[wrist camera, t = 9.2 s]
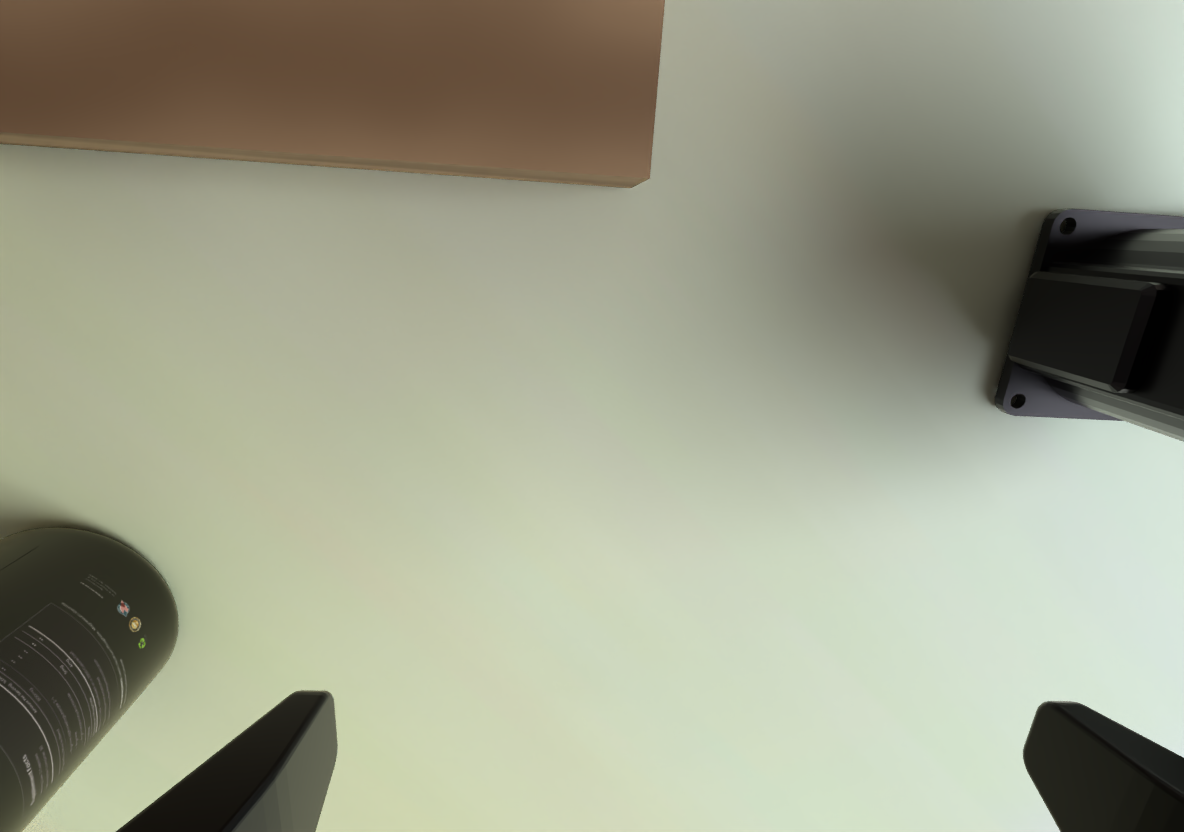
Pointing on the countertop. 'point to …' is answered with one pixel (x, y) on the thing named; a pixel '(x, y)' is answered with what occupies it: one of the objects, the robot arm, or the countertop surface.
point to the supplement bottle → (70, 654)
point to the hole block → (343, 83)
